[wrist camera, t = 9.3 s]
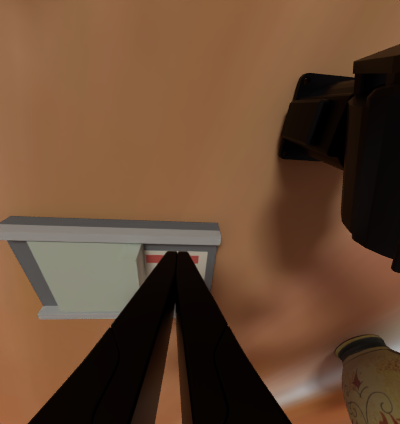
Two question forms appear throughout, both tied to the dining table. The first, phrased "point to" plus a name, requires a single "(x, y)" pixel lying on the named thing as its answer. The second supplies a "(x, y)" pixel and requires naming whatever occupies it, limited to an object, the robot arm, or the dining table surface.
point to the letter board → (108, 233)
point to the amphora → (370, 380)
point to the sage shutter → (91, 273)
